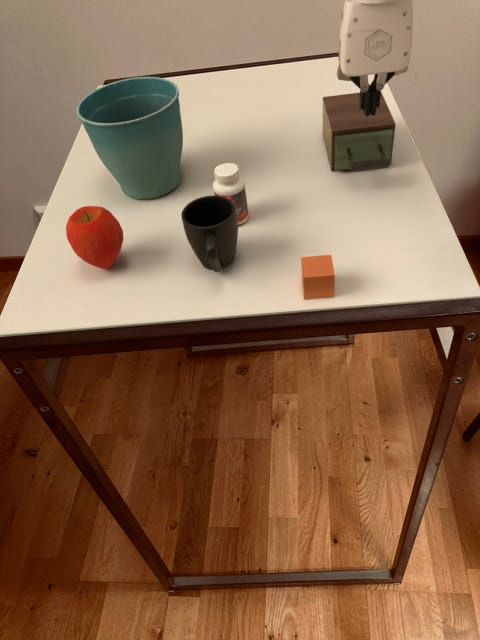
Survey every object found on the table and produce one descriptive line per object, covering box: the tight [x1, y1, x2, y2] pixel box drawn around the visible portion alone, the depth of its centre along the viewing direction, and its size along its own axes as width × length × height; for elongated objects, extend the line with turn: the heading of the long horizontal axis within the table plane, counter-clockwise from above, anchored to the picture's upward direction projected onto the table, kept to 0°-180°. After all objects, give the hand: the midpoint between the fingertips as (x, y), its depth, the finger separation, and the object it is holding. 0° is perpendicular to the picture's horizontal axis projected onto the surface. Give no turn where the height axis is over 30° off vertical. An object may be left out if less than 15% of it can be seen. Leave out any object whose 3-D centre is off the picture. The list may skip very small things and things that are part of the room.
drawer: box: [335, 129, 393, 171], centre depth 94 cm, size 19×10×6 cm, turn 1°
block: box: [300, 254, 336, 300], centre depth 74 cm, size 4×4×4 cm
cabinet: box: [322, 91, 396, 172], centre depth 97 cm, size 14×11×8 cm
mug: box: [180, 194, 239, 273], centre depth 78 cm, size 8×12×10 cm
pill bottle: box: [212, 162, 250, 226], centre depth 86 cm, size 5×5×10 cm
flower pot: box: [75, 76, 184, 200], centre depth 94 cm, size 18×18×17 cm
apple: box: [65, 205, 124, 270], centre depth 81 cm, size 9×8×11 cm
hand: (368, 111), depth 83 cm, fingers closed
